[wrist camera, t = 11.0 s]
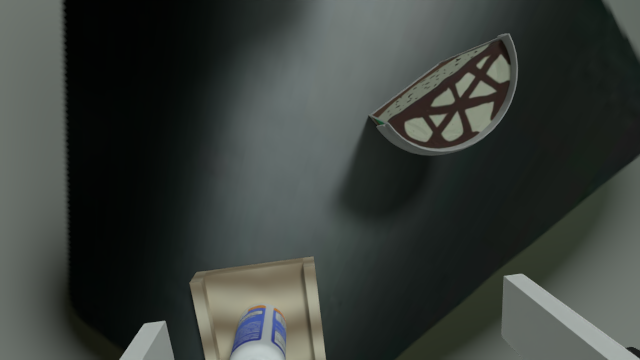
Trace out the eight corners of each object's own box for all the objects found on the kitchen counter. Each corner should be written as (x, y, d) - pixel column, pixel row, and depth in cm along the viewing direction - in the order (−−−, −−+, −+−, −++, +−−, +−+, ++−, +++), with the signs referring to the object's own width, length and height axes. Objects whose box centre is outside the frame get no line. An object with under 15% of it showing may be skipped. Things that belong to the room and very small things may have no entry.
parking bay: (196, 272, 37) (184, 291, 33) (313, 256, 37) (315, 273, 33) (219, 384, 40) (211, 414, 36) (326, 367, 40) (330, 394, 37)
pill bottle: (233, 337, 37) (213, 413, 28) (246, 296, 36) (229, 361, 27) (278, 347, 38) (273, 426, 28) (292, 308, 37) (292, 375, 28)
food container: (388, 168, 36) (424, 189, 26) (357, 123, 35) (382, 127, 25) (479, 101, 35) (551, 96, 26) (451, 53, 34) (515, 28, 24)
